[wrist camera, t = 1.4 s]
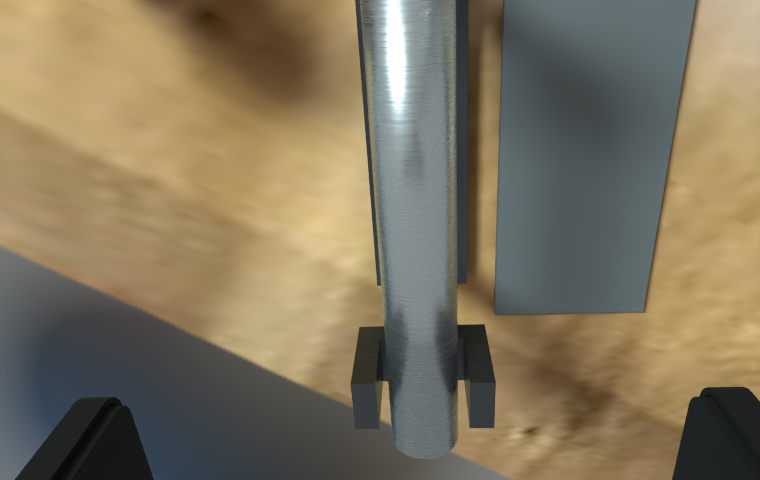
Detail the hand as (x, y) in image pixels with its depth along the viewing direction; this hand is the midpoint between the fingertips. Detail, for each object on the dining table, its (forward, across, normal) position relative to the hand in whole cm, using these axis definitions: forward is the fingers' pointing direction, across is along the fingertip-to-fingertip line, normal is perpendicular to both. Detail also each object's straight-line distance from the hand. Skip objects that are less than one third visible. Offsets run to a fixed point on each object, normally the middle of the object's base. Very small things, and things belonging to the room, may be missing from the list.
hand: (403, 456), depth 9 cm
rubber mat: (+27, -10, 0) cm, 29 cm away
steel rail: (+12, 0, 0) cm, 12 cm away
